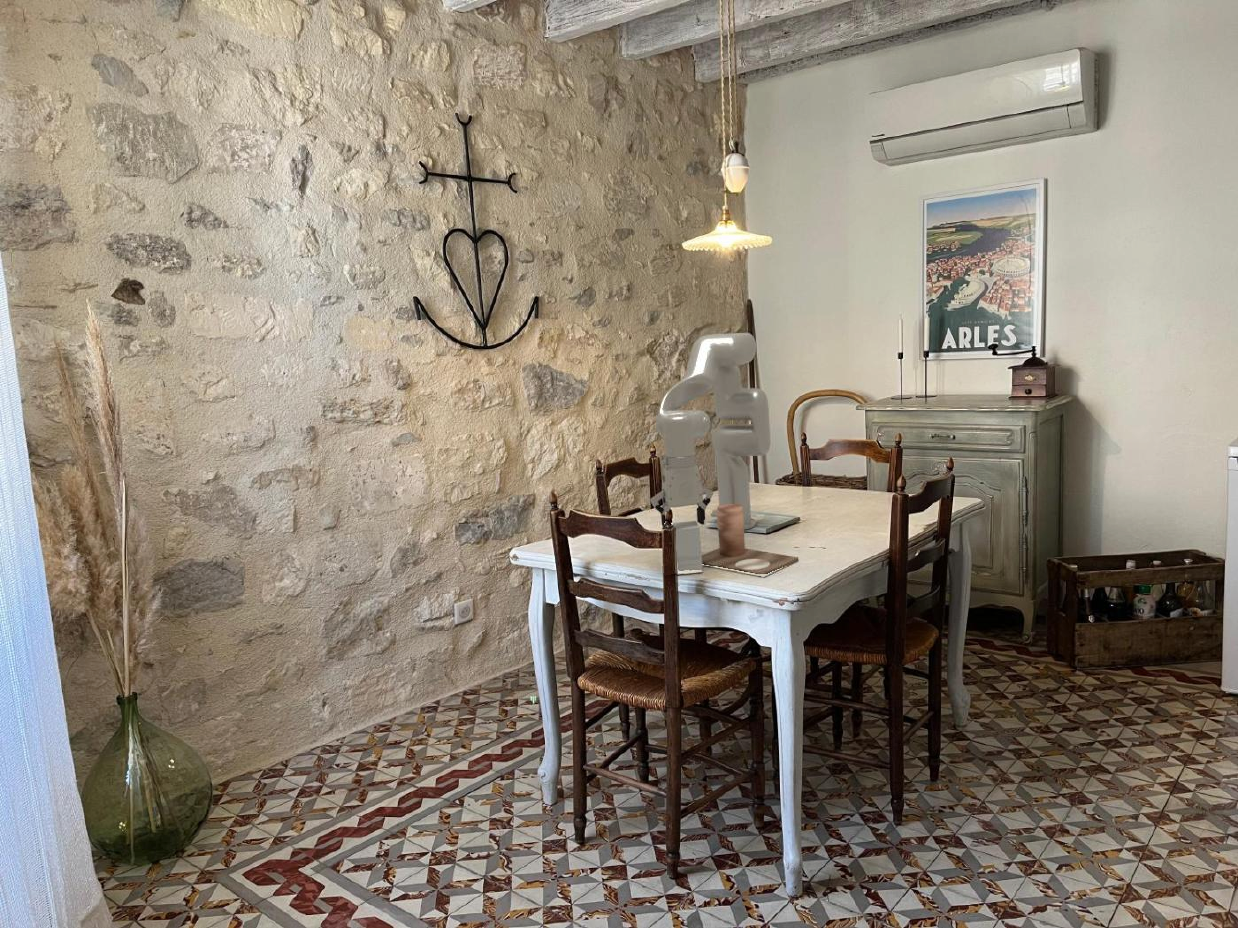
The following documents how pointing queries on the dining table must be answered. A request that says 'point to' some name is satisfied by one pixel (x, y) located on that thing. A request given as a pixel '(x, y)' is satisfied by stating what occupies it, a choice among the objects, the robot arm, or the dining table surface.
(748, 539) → the dining table surface
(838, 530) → the dining table surface
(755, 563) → the board
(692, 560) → the supplement box
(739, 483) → the robot arm
